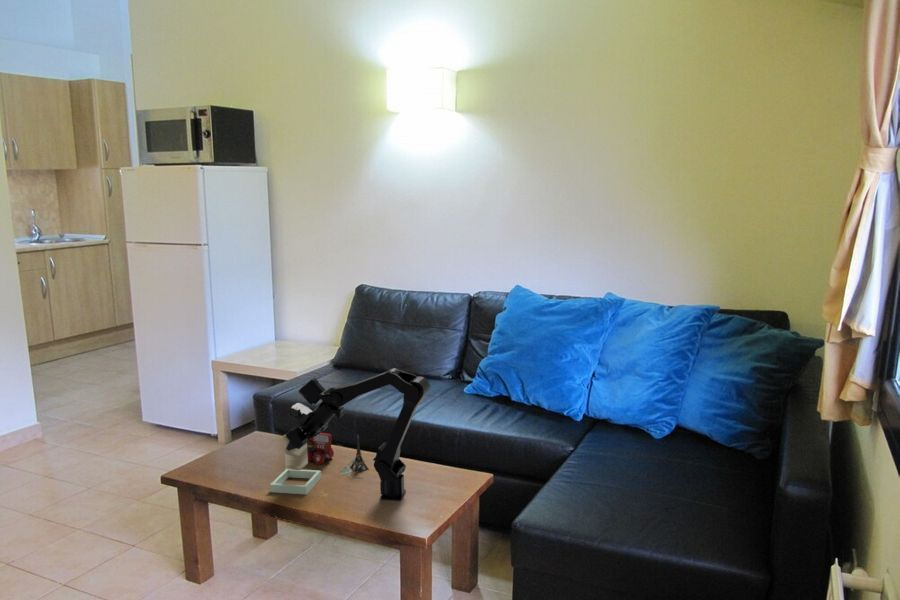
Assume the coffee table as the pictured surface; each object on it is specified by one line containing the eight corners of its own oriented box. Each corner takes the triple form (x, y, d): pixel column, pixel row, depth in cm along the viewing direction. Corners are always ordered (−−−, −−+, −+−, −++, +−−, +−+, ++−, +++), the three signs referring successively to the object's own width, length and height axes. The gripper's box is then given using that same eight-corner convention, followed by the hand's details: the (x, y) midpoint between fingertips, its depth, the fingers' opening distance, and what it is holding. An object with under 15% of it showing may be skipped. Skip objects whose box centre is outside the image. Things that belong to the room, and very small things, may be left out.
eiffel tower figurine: (353, 460, 235) (352, 423, 233) (380, 463, 233) (379, 426, 231) (335, 477, 221) (333, 438, 219) (363, 480, 218) (361, 441, 216)
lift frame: (321, 477, 219) (320, 470, 219) (306, 494, 207) (306, 486, 207) (286, 475, 222) (286, 468, 221) (270, 492, 209) (270, 484, 209)
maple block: (308, 463, 215) (306, 431, 214) (299, 470, 210) (297, 436, 208) (294, 462, 217) (292, 429, 215) (285, 469, 211) (283, 435, 210)
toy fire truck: (309, 453, 241) (308, 426, 239) (337, 459, 235) (336, 430, 234) (297, 460, 235) (295, 432, 233) (326, 466, 229) (324, 437, 228)
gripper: (317, 388, 218) (289, 418, 222) (289, 405, 200) (259, 438, 204) (341, 413, 217) (311, 442, 221) (314, 432, 199) (283, 464, 203)
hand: (291, 446), depth 213 cm, fingers closed on maple block, 5 cm apart
